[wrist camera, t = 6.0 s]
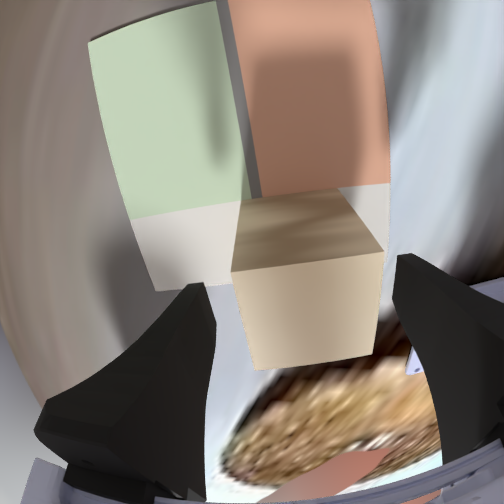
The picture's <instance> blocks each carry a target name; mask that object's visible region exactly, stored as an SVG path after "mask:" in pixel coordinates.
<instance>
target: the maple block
mask: <svg viewBox="0 0 504 504" xmlns="http://www.w3.org/2000/svg"><path fill="white" fill-rule="evenodd" d="M383 265H384V250H383V249H382V247H381V246H380V245H379V243H378V242H377V240H376V239H375V237H374V236H373V235H372V233H371V232H370V231H369V229H368V228H367V226H366V225H365V224H364V222H363V221H362V220H361V218H360V217H359V216H358V214H357V213H356V212H355V210H354V209H353V208H352V206H351V205H350V204H349V203H348V201H347V200H346V199H345V197H344V196H343V195H342V194H341V192H340V191H339V190H338V189H337V188H333V189H324V190H316V191H307V192H299V193H291V194H283V195H276V196H269V197H262V198H255V199H248V200H241V204H240V210H239V217H238V223H237V230H236V237H235V244H234V251H233V257H232V264H231V271H230V273H231V277H232V281H233V286H234V290H235V294H236V298H237V302H238V306H239V310H240V314H241V318H242V322H243V326H244V330H245V334H246V338H247V342H248V346H249V350H250V354H251V358H252V362H253V365H254V369H255V371H257V370H267V369H277V368H286V367H295V366H302V365H310V364H317V363H324V362H330V361H336V360H342V359H348V358H354V357H359V356H364V355H369V354H372V351H373V345H374V339H375V333H376V326H377V319H378V312H379V304H380V295H381V286H382V276H383Z"/></svg>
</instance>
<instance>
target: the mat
mask: <svg viewBox="0 0 504 504" xmlns="http://www.w3.org/2000/svg"><path fill="white" fill-rule="evenodd" d="M88 48H89V55H90V61H91V68H92V73H93V79H94V84H95V90H96V95H97V100H98V105H99V109H100V114H101V118H102V123H103V127H104V131H105V136H106V140H107V144H108V148H109V151H110V155H111V159H112V163H113V166H114V170H115V174H116V177H117V180H118V184H119V187H120V191H121V194H122V197H123V200H124V204H125V207H126V210H127V213H128V216H129V219H130V222H131V225H132V228H133V231H134V234H135V237H136V240H137V243H138V246H139V248H140V251H141V254H142V257H143V259H144V262H145V265H146V267H147V270H148V273H149V275H150V278H151V280H152V283H153V285H154V288H155V290H156V292H159V291H168V290H178V289H184V287H185V286H186V285H187V284H190V283H199V282H204V285H205V287H206V286H215V285H224V284H232V283H233V281H232V277H231V273H230V271H231V264H232V257H233V251H234V244H235V237H236V230H237V223H238V217H239V210H240V204H241V200H248V199H255V198H262V197H269V196H276V195H283V194H291V193H299V192H307V191H316V190H324V189H333V188H337V189H338V190H339V191H340V192H341V194H342V195H343V196H344V197H345V199H346V200H347V201H348V203H349V204H350V205H351V206H352V208H353V209H354V210H355V212H356V213H357V214H358V216H359V217H360V218H361V220H362V221H363V222H364V224H365V225H366V226H367V228H368V229H369V231H370V232H371V233H372V235H373V236H374V237H375V239H376V240H377V242H378V243H379V245H380V246H381V247H382V249H383V250H384V263H386V262H387V258H388V244H389V226H390V143H389V126H388V112H387V101H386V91H385V83H384V75H383V67H382V61H381V54H380V48H379V42H378V37H377V31H376V26H375V21H374V17H373V12H372V8H371V3H370V0H216V1H212V2H207V3H202V4H198V5H194V6H190V7H186V8H182V9H178V10H175V11H171V12H168V13H164V14H161V15H158V16H155V17H152V18H149V19H146V20H143V21H140V22H137V23H134V24H132V25H129V26H126V27H124V28H121V29H119V30H116V31H114V32H111V33H109V34H107V35H104V36H102V37H100V38H98V39H95V40H93V41H91V42H89V43H88Z"/></svg>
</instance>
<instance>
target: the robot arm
mask: <svg viewBox="0 0 504 504" xmlns="http://www.w3.org/2000/svg"><path fill="white" fill-rule="evenodd" d="M392 300H393V303H394V306H395V309H396V312H397V314H398V317H399V320H400V322H401V324H402V326H403V328H404V330H405V332H406V334H407V336H408V338H409V340H410V342H411V344H412V349H411V352H410V355H409V359H408V362H407V365H406V368H405V372H406V374H407V375H412V374H416V373H419V372H423V371H424V372H425V375H426V378H427V381H428V385H429V388H430V391H431V395H432V399H433V403H434V407H435V411H436V416H437V421H438V427H439V433H440V440H441V449H442V461H443V465H442V466H440V467H437V468H435V469H432V470H429V471H427V472H424V473H421V474H418V475H415V476H412V477H409V478H406V479H403V480H400V481H396V482H393V483H389V484H386V485H382V486H378V487H374V488H370V489H366V490H361V491H357V492H352V493H347V494H342V495H336V496H330V497H324V498H317V499H309V500H300V501H290V502H276V503H210V502H205V501H206V500H207V499H206V486H205V463H204V435H205V409H206V399H207V392H208V387H209V381H210V376H211V370H212V364H213V359H214V353H215V347H216V320H215V317H214V314H213V311H212V307H211V304H210V301H209V298H208V295H207V291H206V288H205V285H204V282H199V283H190V284H187V285H186V286H185V287H184V289H183V290H182V291H181V292H180V293H179V294H178V296H177V297H176V298H175V299H174V300H173V302H172V303H171V304H170V305H169V306H168V307H167V309H166V310H165V311H164V312H163V313H162V314H161V316H160V317H159V318H158V319H157V320H156V321H155V322H154V323H153V324H152V325H151V326H150V327H149V328H148V329H147V331H146V332H145V333H144V334H143V335H142V336H141V337H140V338H139V339H138V340H137V341H136V342H135V343H133V344H132V345H131V346H130V347H129V348H128V349H127V350H126V351H124V352H123V353H122V354H121V355H120V356H118V357H117V358H116V359H115V360H113V361H112V362H110V363H109V364H108V365H106V366H105V367H104V368H102V369H101V370H100V371H98V372H97V373H95V374H94V375H92V376H91V377H89V378H88V379H86V380H84V381H83V382H81V383H79V384H78V385H76V386H74V387H72V388H70V389H68V390H66V391H64V392H62V393H60V394H58V395H56V396H54V397H52V398H50V399H47V400H46V403H45V405H44V407H43V409H42V412H41V414H40V416H39V418H38V421H37V423H36V426H35V428H34V433H35V435H36V437H37V438H38V439H39V441H40V442H42V443H43V444H44V445H45V446H46V447H47V448H49V449H50V450H51V451H53V452H54V453H55V454H57V455H58V456H59V457H61V458H62V459H63V460H65V461H66V462H67V463H68V466H67V469H64V468H62V467H60V466H57V465H55V464H52V463H50V462H47V461H45V460H42V459H40V458H35V460H34V463H33V466H32V469H31V472H30V475H29V478H28V481H27V484H26V487H25V491H24V494H23V497H22V501H21V504H400V503H404V502H407V501H410V500H413V499H416V498H418V497H421V496H424V495H427V494H429V493H432V492H434V491H437V490H440V489H441V494H440V495H439V496H437V497H436V498H434V499H432V500H431V501H429V502H427V503H425V504H504V277H502V278H498V279H495V280H491V281H487V282H483V283H480V284H476V285H472V286H468V285H466V284H464V283H462V282H460V281H459V280H457V279H455V278H454V277H452V276H450V275H449V274H447V273H445V272H444V271H442V270H440V269H439V268H437V267H435V266H434V265H432V264H430V263H429V262H427V261H425V260H424V259H422V258H420V257H418V256H416V255H414V254H412V253H409V254H403V255H397V263H396V272H395V280H394V288H393V295H392Z"/></svg>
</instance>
